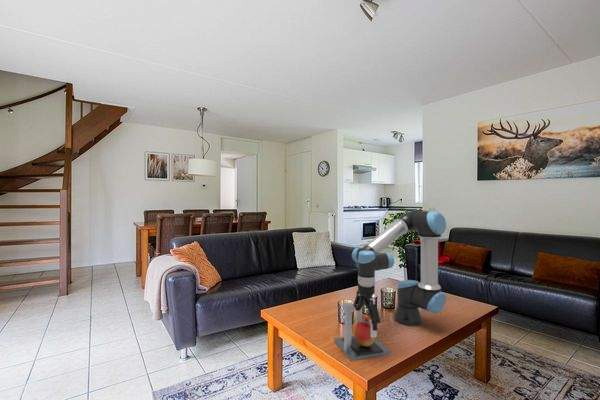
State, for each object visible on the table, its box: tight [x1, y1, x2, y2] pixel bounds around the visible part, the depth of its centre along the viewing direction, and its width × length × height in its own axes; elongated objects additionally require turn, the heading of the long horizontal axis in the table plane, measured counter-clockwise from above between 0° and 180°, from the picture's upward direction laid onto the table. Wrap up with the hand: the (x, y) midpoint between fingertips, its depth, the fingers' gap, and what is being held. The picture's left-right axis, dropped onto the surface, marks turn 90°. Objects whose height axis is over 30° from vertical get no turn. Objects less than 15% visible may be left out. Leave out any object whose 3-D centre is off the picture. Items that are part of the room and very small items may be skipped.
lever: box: [362, 314, 371, 324], centre depth 148 cm, size 4×3×11 cm
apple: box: [354, 321, 377, 347], centre depth 138 cm, size 10×10×10 cm
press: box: [333, 302, 392, 362], centre depth 140 cm, size 21×18×22 cm
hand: (365, 330), depth 138 cm, fingers open, 13 cm apart
